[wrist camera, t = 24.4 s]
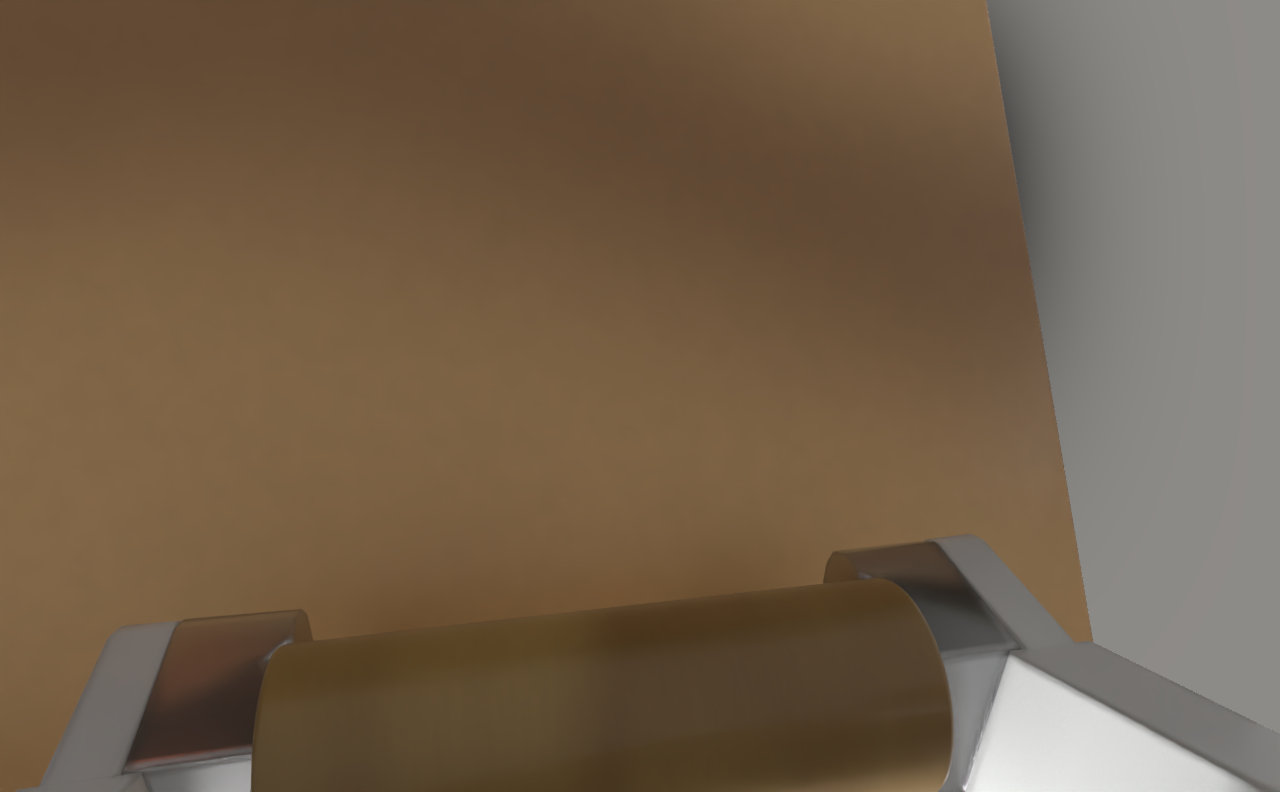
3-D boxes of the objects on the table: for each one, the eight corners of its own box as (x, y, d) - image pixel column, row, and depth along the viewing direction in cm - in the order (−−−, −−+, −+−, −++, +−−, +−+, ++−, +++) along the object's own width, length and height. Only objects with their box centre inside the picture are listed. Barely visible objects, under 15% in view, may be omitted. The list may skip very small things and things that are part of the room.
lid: (1075, 760, 12) (1486, 910, 7) (-64, 948, 9) (-661, 1395, 4) (899, -340, 15) (1111, -783, 10) (-31, -440, 12) (-382, -1120, 7)
